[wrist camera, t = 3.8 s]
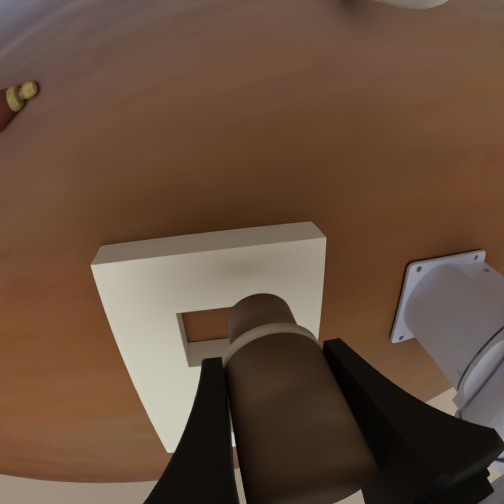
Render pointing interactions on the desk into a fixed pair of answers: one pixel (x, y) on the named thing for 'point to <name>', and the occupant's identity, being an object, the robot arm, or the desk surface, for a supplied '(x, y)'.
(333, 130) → the desk surface
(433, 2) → the mug
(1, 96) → the gavel
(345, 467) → the peg
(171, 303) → the board
